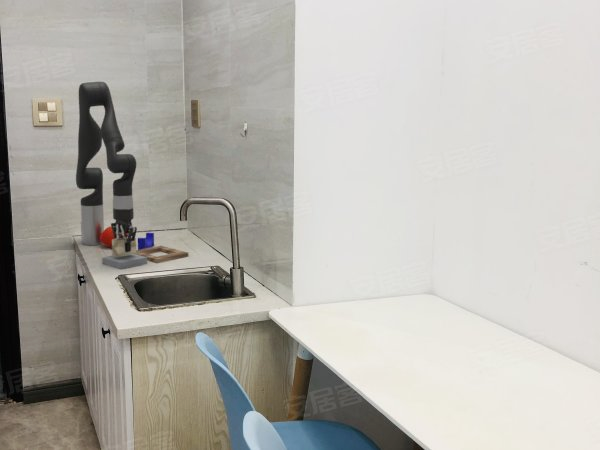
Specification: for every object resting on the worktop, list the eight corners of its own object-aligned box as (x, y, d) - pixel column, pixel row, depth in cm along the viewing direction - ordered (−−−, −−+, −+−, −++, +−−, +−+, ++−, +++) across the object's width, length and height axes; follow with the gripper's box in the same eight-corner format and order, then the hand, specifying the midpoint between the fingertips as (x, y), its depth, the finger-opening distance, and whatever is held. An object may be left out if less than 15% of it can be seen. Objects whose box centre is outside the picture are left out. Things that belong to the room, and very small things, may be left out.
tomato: (98, 244, 271) (97, 225, 270) (127, 242, 276) (127, 223, 275) (102, 251, 260) (101, 231, 258) (132, 248, 265) (132, 229, 264)
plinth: (102, 263, 240) (102, 257, 240) (128, 258, 249) (128, 252, 249) (120, 269, 233) (120, 262, 232) (147, 263, 242) (147, 257, 241)
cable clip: (144, 245, 272) (143, 232, 271) (154, 246, 272) (153, 232, 270) (134, 252, 260) (134, 238, 259) (144, 252, 260) (144, 238, 259)
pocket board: (129, 255, 254) (129, 251, 254) (160, 249, 266) (160, 245, 266) (156, 263, 243) (156, 259, 242) (188, 256, 255) (188, 252, 254)
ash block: (112, 254, 238) (111, 239, 237) (130, 251, 244) (129, 236, 243) (118, 256, 236) (118, 241, 235) (136, 253, 242) (135, 238, 241)
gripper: (103, 205, 238) (105, 249, 241) (125, 210, 229) (127, 255, 233) (120, 203, 244) (121, 246, 247) (142, 208, 235) (143, 252, 238)
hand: (124, 250), depth 240 cm, fingers closed on ash block, 3 cm apart
